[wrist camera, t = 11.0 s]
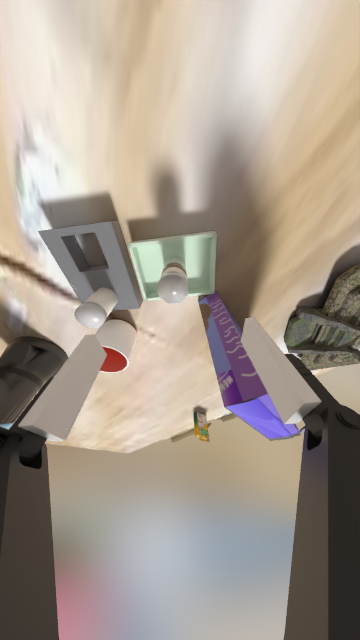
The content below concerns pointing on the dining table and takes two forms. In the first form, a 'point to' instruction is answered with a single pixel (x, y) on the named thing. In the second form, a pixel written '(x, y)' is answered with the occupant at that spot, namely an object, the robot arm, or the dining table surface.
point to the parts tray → (189, 247)
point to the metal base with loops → (329, 326)
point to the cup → (116, 344)
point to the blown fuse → (173, 281)
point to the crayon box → (201, 426)
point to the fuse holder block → (96, 271)
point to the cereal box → (240, 373)
